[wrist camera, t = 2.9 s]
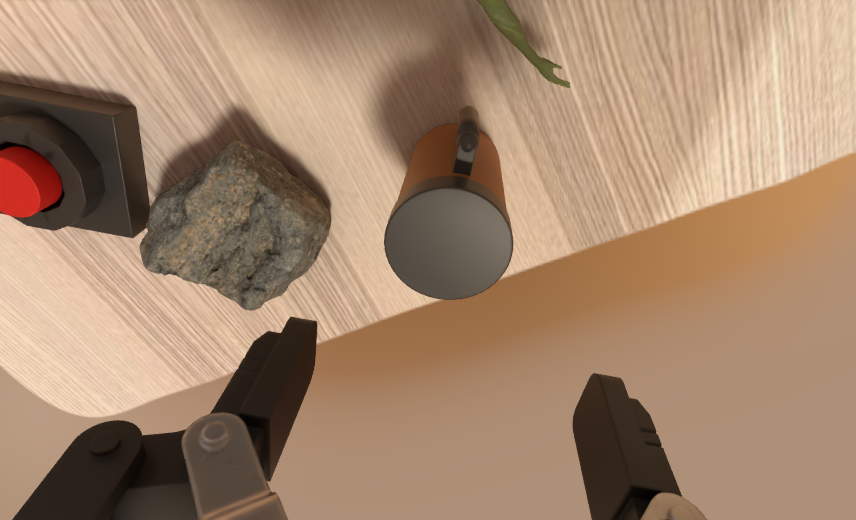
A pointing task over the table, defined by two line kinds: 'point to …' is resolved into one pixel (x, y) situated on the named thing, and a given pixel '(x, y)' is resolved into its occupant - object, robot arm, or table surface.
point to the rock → (237, 227)
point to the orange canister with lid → (451, 214)
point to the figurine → (519, 37)
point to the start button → (26, 182)
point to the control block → (81, 158)
